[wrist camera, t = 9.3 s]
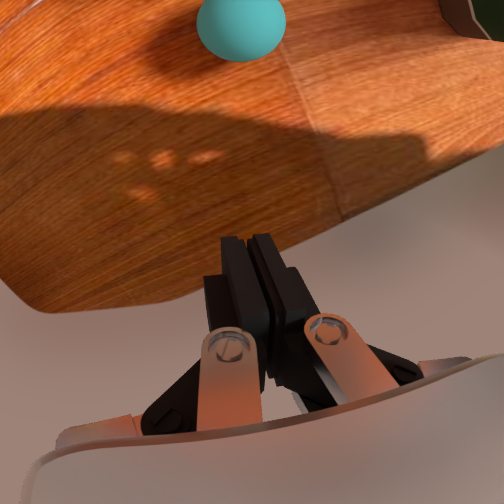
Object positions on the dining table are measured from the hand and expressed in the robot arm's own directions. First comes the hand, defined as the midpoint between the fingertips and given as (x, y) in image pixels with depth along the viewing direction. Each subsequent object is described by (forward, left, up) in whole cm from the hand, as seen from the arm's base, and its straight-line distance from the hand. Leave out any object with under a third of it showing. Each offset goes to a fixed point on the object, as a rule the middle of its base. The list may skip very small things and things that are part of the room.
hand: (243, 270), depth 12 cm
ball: (+2, +10, -14) cm, 17 cm away
